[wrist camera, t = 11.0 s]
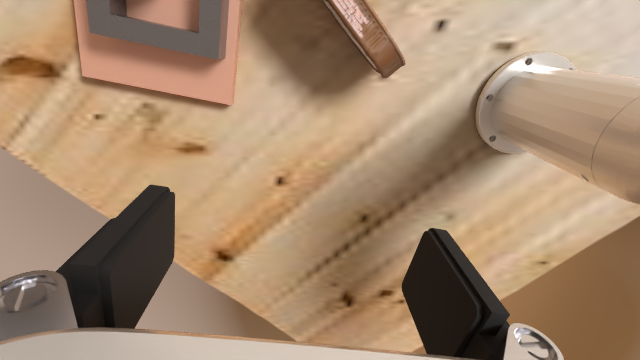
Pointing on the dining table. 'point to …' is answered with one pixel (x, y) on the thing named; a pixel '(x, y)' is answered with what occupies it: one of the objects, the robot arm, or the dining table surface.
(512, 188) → the dining table surface
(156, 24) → the grey square frame
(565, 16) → the dining table surface
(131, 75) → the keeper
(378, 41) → the tin
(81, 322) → the robot arm
